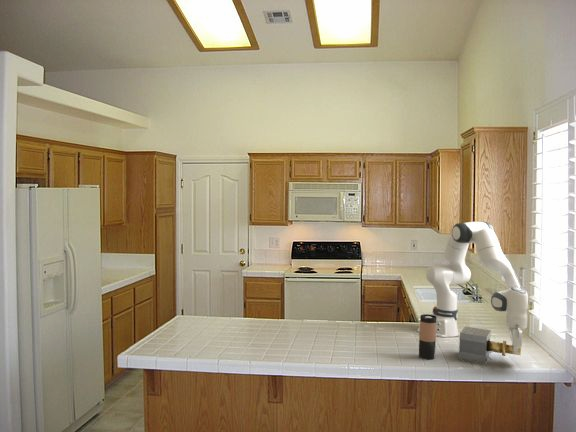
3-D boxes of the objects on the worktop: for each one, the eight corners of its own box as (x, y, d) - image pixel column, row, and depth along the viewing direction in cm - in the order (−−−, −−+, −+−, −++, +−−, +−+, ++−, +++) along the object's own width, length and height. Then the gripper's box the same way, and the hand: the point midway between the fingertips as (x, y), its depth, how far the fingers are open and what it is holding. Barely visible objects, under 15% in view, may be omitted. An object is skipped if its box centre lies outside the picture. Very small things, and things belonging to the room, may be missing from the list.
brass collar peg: (484, 354, 250) (485, 340, 250) (486, 350, 257) (487, 336, 256) (519, 360, 243) (520, 345, 243) (520, 356, 249) (521, 341, 249)
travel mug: (432, 354, 259) (434, 314, 258) (436, 360, 251) (439, 318, 250) (416, 354, 258) (418, 314, 257) (420, 359, 251) (422, 317, 250)
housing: (458, 359, 253) (460, 332, 252) (463, 352, 265) (465, 326, 264) (485, 364, 247) (486, 336, 246) (489, 356, 259) (490, 330, 259)
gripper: (526, 329, 236) (524, 359, 237) (521, 318, 255) (520, 346, 256) (511, 327, 238) (509, 357, 239) (507, 317, 257) (505, 345, 258)
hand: (514, 352), depth 247 cm, fingers closed on brass collar peg, 4 cm apart
